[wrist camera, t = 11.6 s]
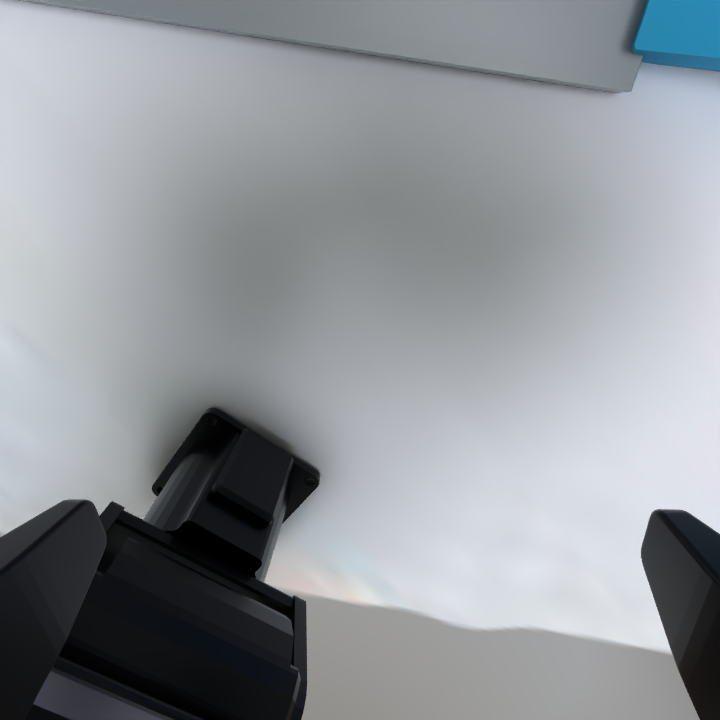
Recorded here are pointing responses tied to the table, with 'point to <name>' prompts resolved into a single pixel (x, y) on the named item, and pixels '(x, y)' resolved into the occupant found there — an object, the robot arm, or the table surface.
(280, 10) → the thin grey base plate
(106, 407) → the table surface
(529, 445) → the table surface
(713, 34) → the blue long block
